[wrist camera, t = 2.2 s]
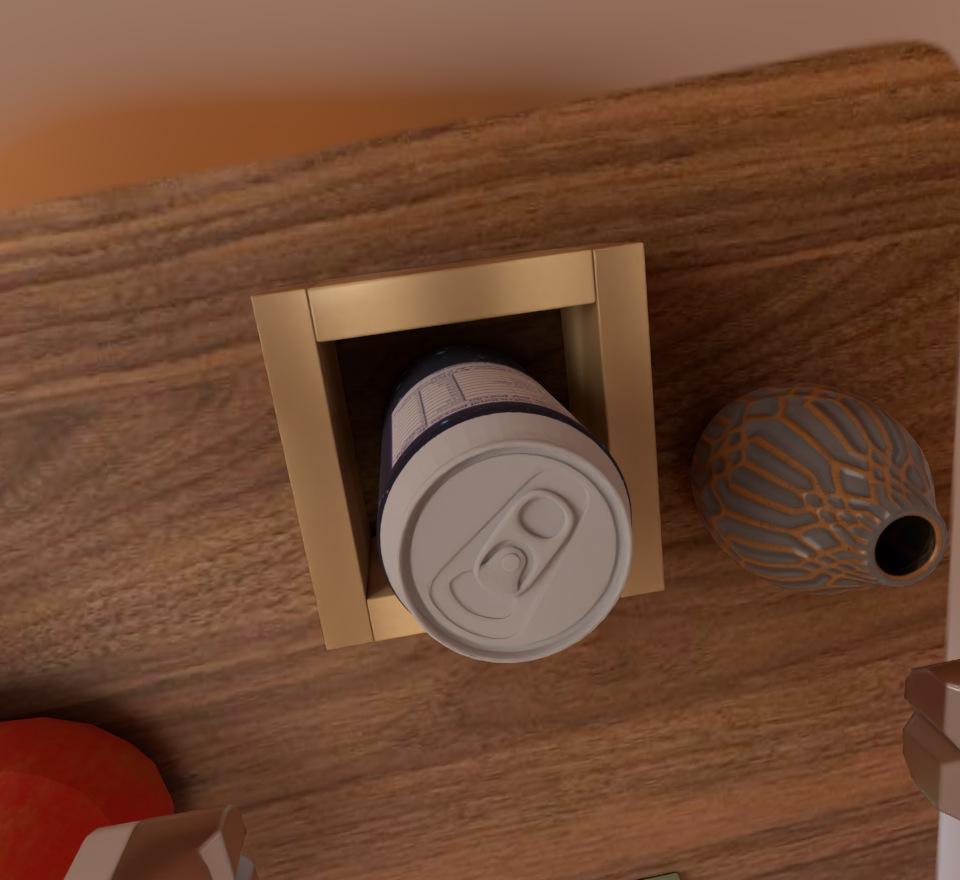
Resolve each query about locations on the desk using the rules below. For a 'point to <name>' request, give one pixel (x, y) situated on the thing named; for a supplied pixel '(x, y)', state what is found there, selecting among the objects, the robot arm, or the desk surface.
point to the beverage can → (497, 509)
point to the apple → (67, 792)
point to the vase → (817, 491)
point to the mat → (666, 877)
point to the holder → (438, 301)
